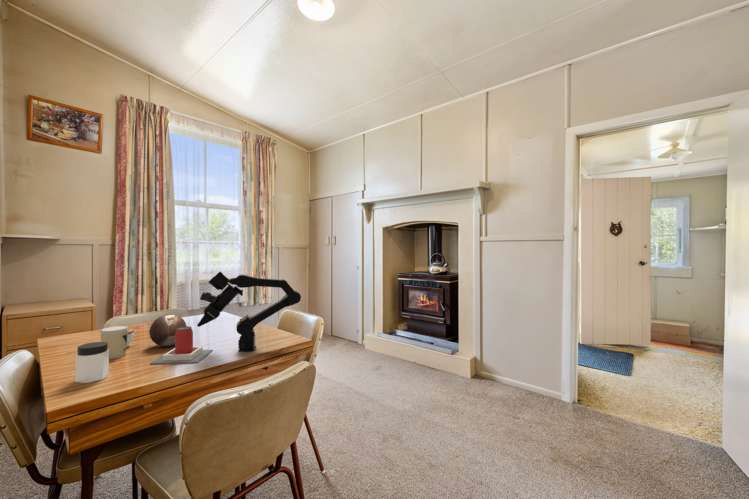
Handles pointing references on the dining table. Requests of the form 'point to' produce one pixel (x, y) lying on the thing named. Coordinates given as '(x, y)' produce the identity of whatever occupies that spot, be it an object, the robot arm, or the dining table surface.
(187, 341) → the beer can
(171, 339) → the brown ball
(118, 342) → the coffee cup
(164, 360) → the holder plate
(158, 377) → the dining table surface
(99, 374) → the jar
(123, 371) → the dining table surface
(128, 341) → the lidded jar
